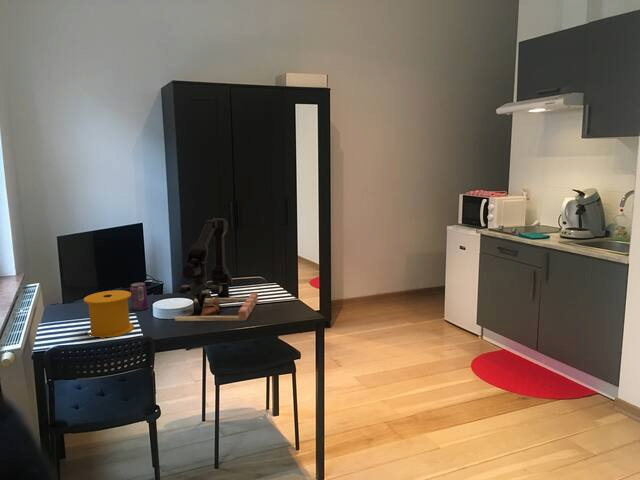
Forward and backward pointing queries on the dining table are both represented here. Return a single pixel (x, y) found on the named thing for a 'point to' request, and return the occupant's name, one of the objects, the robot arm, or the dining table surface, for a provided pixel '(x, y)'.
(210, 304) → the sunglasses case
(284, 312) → the dining table surface
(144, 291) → the beverage can
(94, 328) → the spool
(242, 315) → the guide channel
